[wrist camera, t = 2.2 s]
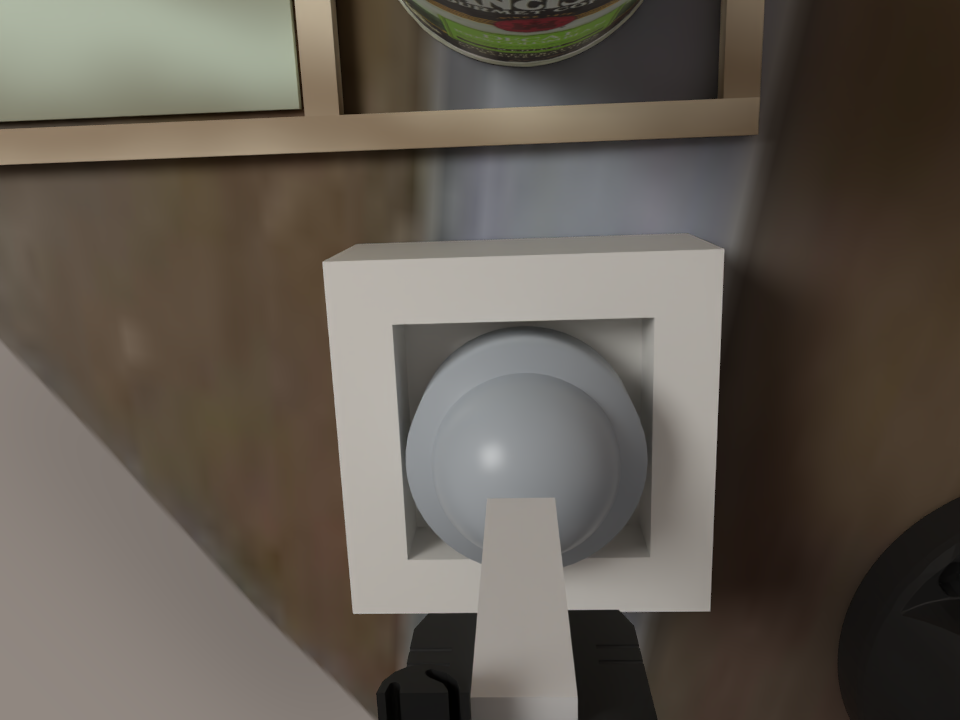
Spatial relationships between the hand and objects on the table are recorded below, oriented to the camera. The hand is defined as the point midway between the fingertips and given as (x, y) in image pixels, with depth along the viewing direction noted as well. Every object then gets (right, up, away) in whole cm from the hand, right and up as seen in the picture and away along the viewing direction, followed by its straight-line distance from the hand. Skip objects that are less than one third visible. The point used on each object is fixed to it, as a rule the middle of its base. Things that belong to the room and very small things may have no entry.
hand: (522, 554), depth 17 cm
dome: (+1, +2, +9) cm, 9 cm away
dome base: (+1, +3, +12) cm, 13 cm away
